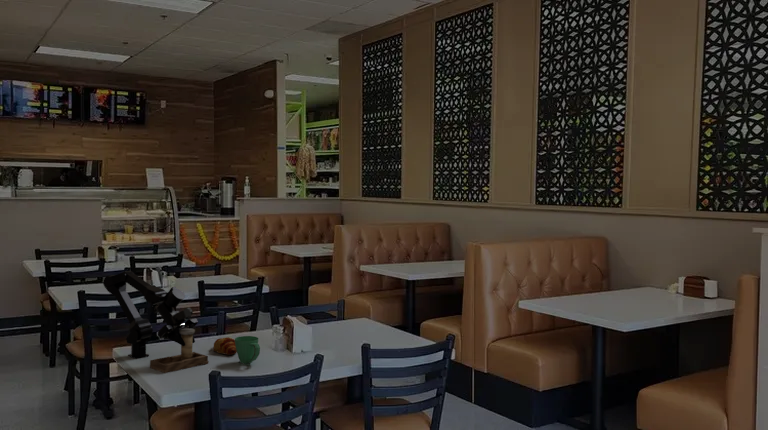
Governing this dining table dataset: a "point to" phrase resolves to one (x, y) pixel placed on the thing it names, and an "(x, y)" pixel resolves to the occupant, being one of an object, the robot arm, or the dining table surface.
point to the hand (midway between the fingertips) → (189, 344)
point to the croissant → (225, 346)
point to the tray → (178, 362)
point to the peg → (186, 343)
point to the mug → (247, 348)
